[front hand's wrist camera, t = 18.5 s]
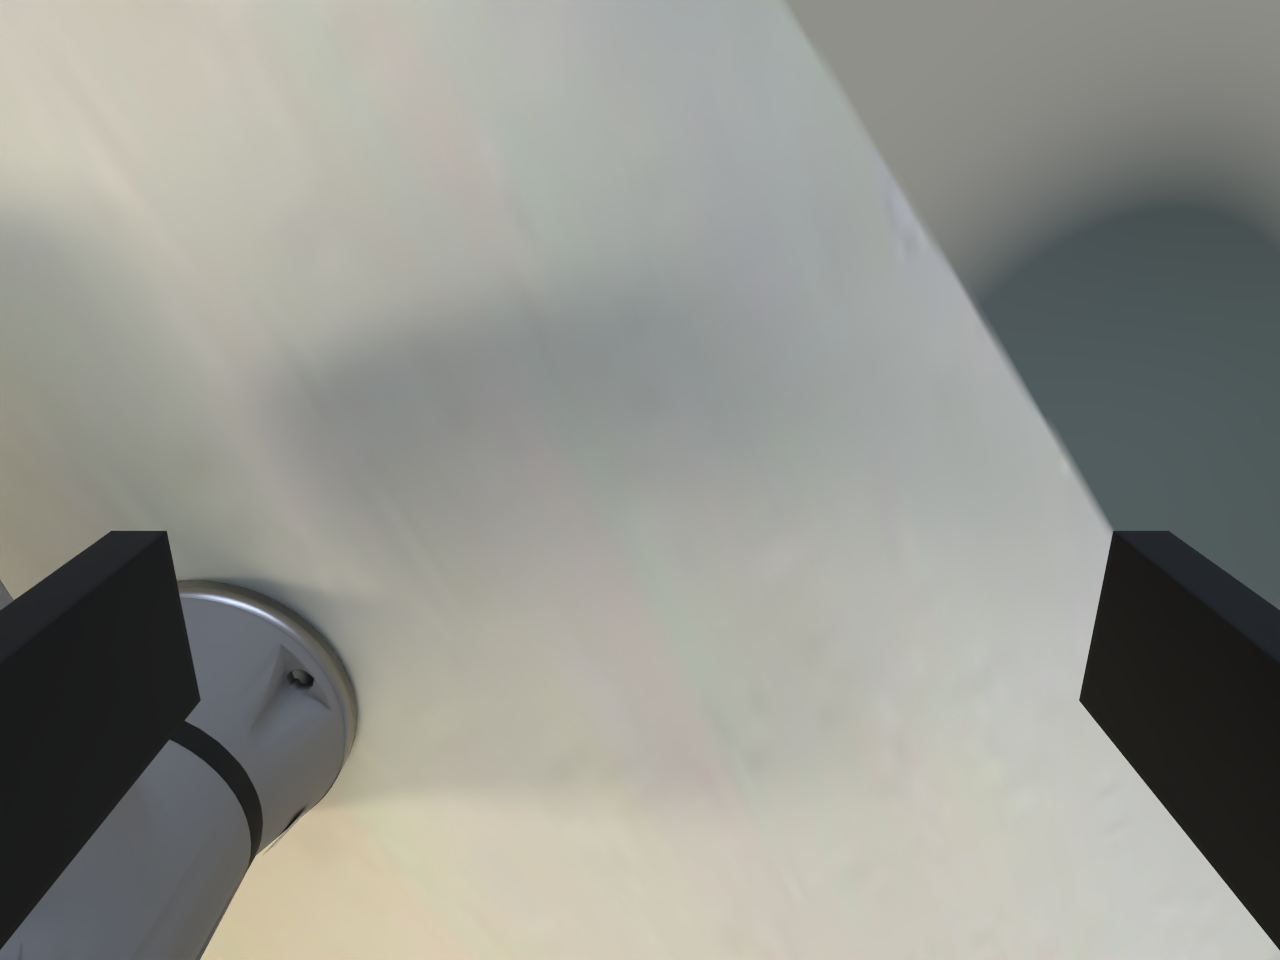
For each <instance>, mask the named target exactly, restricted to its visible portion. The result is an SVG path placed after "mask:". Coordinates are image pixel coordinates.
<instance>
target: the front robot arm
mask: <svg viewBox="0 0 1280 960" xmlns="http://www.w3.org/2000/svg"><path fill="white" fill-rule="evenodd" d="M1079 701H1080V702H1081V703H1082V705H1083V706H1084V707H1085V708H1086V710H1087V711H1088V712H1089V713H1090V714H1091V716H1092V717H1093V718H1094V719H1095V721H1096V722H1097V723H1098V724H1099V726H1100V727H1101V728H1102V729H1103V731H1104V732H1105V733H1106V734H1107V736H1108V737H1109V738H1110V739H1111V741H1112V742H1113V743H1114V744H1115V746H1116V747H1117V748H1118V749H1119V751H1120V752H1121V753H1122V754H1123V756H1124V757H1125V758H1126V759H1127V761H1128V762H1129V763H1130V764H1131V766H1132V767H1133V768H1134V769H1135V771H1136V772H1137V773H1138V774H1139V776H1140V777H1141V778H1142V779H1143V780H1144V782H1145V783H1146V784H1147V785H1148V787H1149V788H1150V789H1151V790H1152V792H1153V793H1154V794H1155V795H1156V797H1157V798H1158V799H1159V800H1160V802H1161V803H1162V804H1163V805H1164V807H1165V808H1166V809H1167V810H1168V812H1169V813H1170V814H1171V815H1172V817H1173V818H1174V819H1175V820H1176V822H1177V823H1178V824H1179V825H1180V827H1181V828H1182V829H1183V830H1184V832H1185V833H1186V834H1187V835H1188V837H1189V838H1190V839H1191V840H1192V842H1193V843H1194V844H1195V845H1196V846H1197V848H1198V849H1199V850H1200V851H1201V853H1202V854H1203V855H1204V856H1205V858H1206V859H1207V860H1208V861H1209V863H1210V864H1211V865H1212V866H1213V868H1214V869H1215V870H1216V871H1217V873H1218V874H1219V875H1220V876H1221V878H1222V879H1223V880H1224V881H1225V883H1226V884H1227V885H1228V886H1229V888H1230V889H1231V890H1232V891H1233V893H1234V894H1235V895H1236V896H1237V898H1238V899H1239V900H1240V901H1241V903H1242V904H1243V905H1244V906H1245V908H1246V909H1247V910H1248V911H1249V913H1250V914H1251V915H1252V916H1253V917H1254V919H1255V920H1256V921H1257V922H1258V924H1259V925H1260V926H1261V927H1262V929H1263V930H1264V931H1265V932H1266V934H1267V935H1268V936H1269V937H1270V939H1271V940H1272V941H1273V942H1274V944H1275V945H1276V946H1277V947H1278V949H1279V950H1280V610H1278V609H1277V608H1276V607H1274V606H1273V605H1271V604H1270V603H1269V602H1267V601H1266V600H1264V599H1263V598H1262V597H1260V596H1259V595H1257V594H1256V593H1255V592H1253V591H1252V590H1250V589H1249V588H1248V587H1246V586H1245V585H1243V584H1242V583H1241V582H1239V581H1238V580H1236V579H1235V578H1234V577H1232V576H1231V575H1229V574H1228V573H1227V572H1225V571H1224V570H1222V569H1221V568H1220V567H1218V566H1217V565H1215V564H1214V563H1213V562H1211V561H1210V560H1208V559H1207V558H1206V557H1204V556H1203V555H1201V554H1200V553H1199V552H1197V551H1196V550H1194V549H1193V548H1192V547H1190V546H1189V545H1187V544H1186V543H1185V542H1183V541H1182V540H1180V539H1179V538H1178V537H1176V536H1175V535H1173V534H1172V533H1171V532H1169V531H1113V535H1112V540H1111V545H1110V550H1109V555H1108V560H1107V565H1106V570H1105V575H1104V580H1103V585H1102V590H1101V595H1100V600H1099V605H1098V610H1097V615H1096V620H1095V625H1094V630H1093V635H1092V640H1091V645H1090V649H1089V654H1088V659H1087V664H1086V669H1085V674H1084V679H1083V684H1082V689H1081V694H1080V699H1079ZM356 719H357V713H356V702H355V697H354V692H353V689H352V685H351V682H350V680H349V677H348V675H347V672H346V670H345V668H344V666H343V665H342V663H341V661H340V659H339V657H338V656H337V655H336V653H335V652H334V650H333V649H332V647H331V646H330V645H329V644H328V642H327V641H326V640H325V639H324V638H323V637H322V636H321V635H320V633H319V632H318V631H317V630H316V629H315V628H314V627H312V626H311V625H310V624H309V623H308V622H307V621H305V620H304V619H303V618H302V617H300V616H299V615H297V614H296V613H295V612H293V611H292V610H290V609H289V608H287V607H285V606H284V605H282V604H280V603H279V602H276V601H274V600H272V599H270V598H268V597H266V596H264V595H261V594H259V593H256V592H254V591H251V590H248V589H245V588H241V587H238V586H233V585H229V584H224V583H216V582H207V581H183V582H177V580H176V575H175V570H174V565H173V560H172V555H171V550H170V545H169V540H168V535H167V531H111V532H109V533H108V534H107V535H105V536H104V537H102V538H101V539H99V540H98V541H97V542H95V543H94V544H93V545H91V546H90V547H88V548H87V549H86V550H84V551H83V552H81V553H80V554H79V555H77V556H76V557H74V558H73V559H72V560H70V561H69V562H67V563H66V564H65V565H63V566H62V567H60V568H59V569H58V570H56V571H55V572H53V573H52V574H51V575H49V576H48V577H46V578H45V579H44V580H42V581H41V582H39V583H38V584H37V585H35V586H34V587H32V588H31V589H30V590H28V591H27V592H25V593H24V594H23V595H21V596H20V597H18V598H17V599H16V600H13V599H12V597H11V596H10V594H9V593H8V591H7V590H6V588H5V587H4V585H3V583H2V582H1V580H0V960H200V959H201V957H202V955H203V953H204V951H205V949H206V947H207V946H208V944H209V942H210V940H211V938H212V936H213V934H214V932H215V931H216V929H217V927H218V925H219V923H220V921H221V919H222V917H223V915H224V914H225V912H226V910H227V908H228V906H229V904H230V902H231V900H232V899H233V897H234V895H235V893H236V891H237V889H238V887H239V885H240V884H241V882H242V880H243V878H244V876H245V874H246V872H247V870H248V868H249V867H250V865H251V863H252V861H253V860H254V858H255V856H256V855H257V854H258V853H259V852H261V851H262V850H263V849H264V848H265V847H266V846H268V845H269V844H270V843H271V842H272V841H274V840H275V839H276V838H277V837H278V836H279V835H281V834H282V833H283V832H284V831H285V830H286V831H285V832H284V833H283V834H282V835H281V836H280V837H279V838H278V839H277V840H276V842H275V843H274V844H273V845H272V846H271V847H270V848H269V849H268V850H270V849H271V848H272V847H273V846H274V845H275V844H276V843H277V842H278V841H279V840H280V839H281V838H282V837H283V836H284V835H285V834H286V833H287V832H288V831H289V830H290V828H291V827H292V826H293V825H294V824H295V823H296V822H297V821H298V820H299V819H300V818H301V817H302V816H303V815H304V814H305V813H307V812H308V811H309V810H310V809H311V808H313V807H314V806H315V805H316V804H317V803H318V802H319V801H320V800H321V799H322V798H323V797H324V796H325V795H326V794H327V792H328V791H329V790H330V788H331V787H332V785H333V784H334V782H335V780H336V779H337V777H338V775H339V773H340V771H341V769H342V767H343V765H344V763H345V761H346V759H347V756H348V754H349V752H350V749H351V747H352V744H353V740H354V737H355V730H356ZM268 850H267V851H268ZM267 851H266V852H267ZM266 852H265V853H266ZM265 853H264V854H265ZM264 854H263V855H264ZM263 855H262V856H263Z"/></svg>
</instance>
